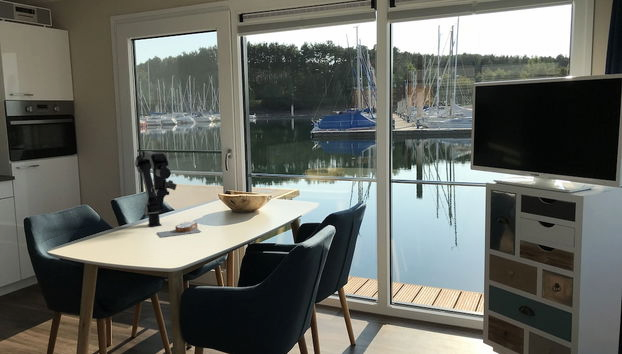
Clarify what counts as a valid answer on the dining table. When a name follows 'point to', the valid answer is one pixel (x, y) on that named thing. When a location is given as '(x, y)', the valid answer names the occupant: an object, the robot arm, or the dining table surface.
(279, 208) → the dining table surface
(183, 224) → the tin
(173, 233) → the mat
